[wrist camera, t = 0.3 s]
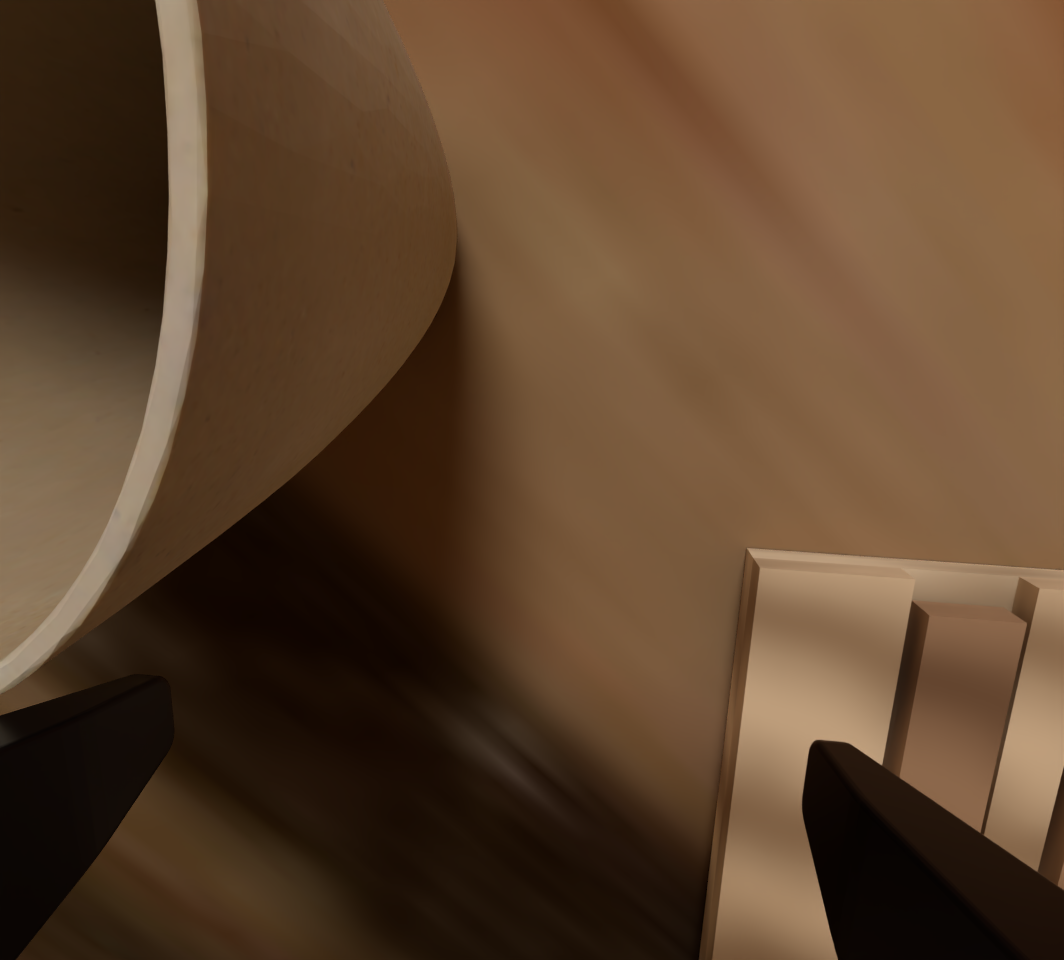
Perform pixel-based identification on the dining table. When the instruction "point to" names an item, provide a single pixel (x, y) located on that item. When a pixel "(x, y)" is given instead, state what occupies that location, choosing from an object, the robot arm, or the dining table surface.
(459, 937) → the dining table surface
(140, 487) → the plant pot
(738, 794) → the lane board
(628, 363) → the dining table surface
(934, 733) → the strip
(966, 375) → the dining table surface
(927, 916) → the robot arm
